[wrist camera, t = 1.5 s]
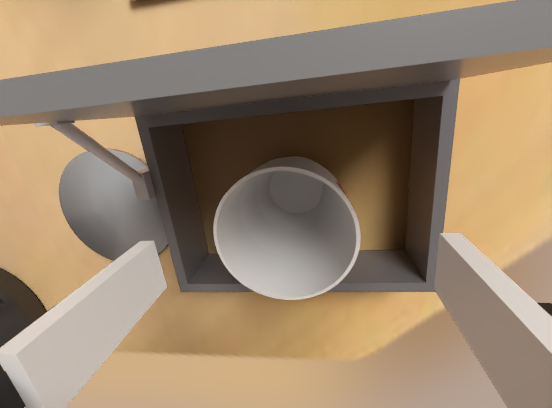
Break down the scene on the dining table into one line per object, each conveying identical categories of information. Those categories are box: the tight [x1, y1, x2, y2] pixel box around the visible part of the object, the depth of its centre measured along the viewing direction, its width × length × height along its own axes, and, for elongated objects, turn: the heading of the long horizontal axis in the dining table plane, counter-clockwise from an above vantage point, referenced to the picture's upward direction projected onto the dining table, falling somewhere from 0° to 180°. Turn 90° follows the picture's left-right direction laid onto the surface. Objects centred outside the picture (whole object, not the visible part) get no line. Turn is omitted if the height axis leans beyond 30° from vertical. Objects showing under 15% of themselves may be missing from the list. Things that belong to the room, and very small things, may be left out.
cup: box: [213, 156, 360, 300], centre depth 20 cm, size 8×8×10 cm
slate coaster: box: [59, 149, 168, 261], centre depth 27 cm, size 12×12×1 cm
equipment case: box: [0, 0, 552, 292], centre depth 16 cm, size 22×16×17 cm
